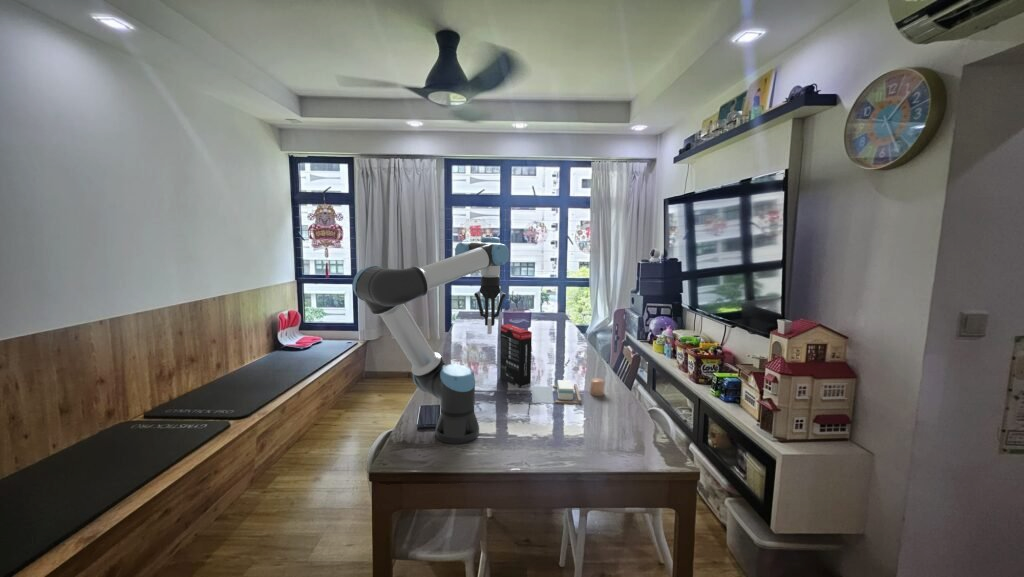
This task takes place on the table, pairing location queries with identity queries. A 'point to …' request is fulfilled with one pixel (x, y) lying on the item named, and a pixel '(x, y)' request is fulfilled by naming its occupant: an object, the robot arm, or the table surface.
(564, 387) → the carton
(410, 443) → the table surface
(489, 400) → the table surface
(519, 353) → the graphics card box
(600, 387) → the wooden block
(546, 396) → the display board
